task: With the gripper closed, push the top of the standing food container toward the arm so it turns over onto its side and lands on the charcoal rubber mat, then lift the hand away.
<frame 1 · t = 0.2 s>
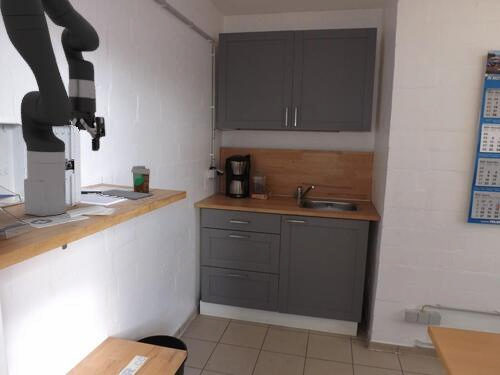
hand: (84, 149, 112), 17 cm above the table, tool pointing down, fingers open, 8 cm apart
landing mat: (123, 194, 135), on the table
food container: (138, 192, 144), on the table
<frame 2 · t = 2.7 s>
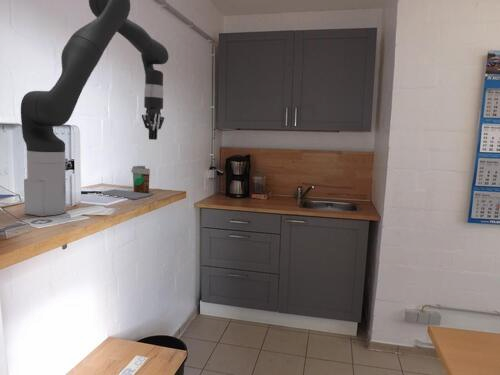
hand: (152, 139, 149), 21 cm above the table, tool pointing down, fingers closed
nothing on the table moved.
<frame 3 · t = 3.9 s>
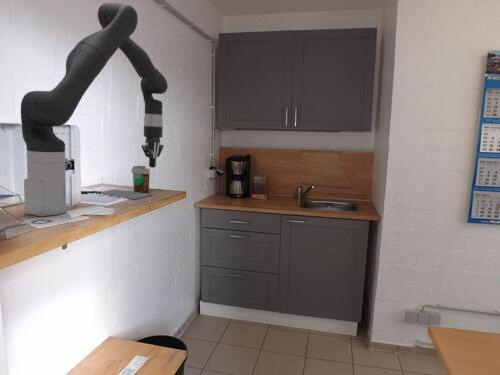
hand: (152, 167, 151), 9 cm above the table, tool pointing down, fingers closed
nothing on the table moved.
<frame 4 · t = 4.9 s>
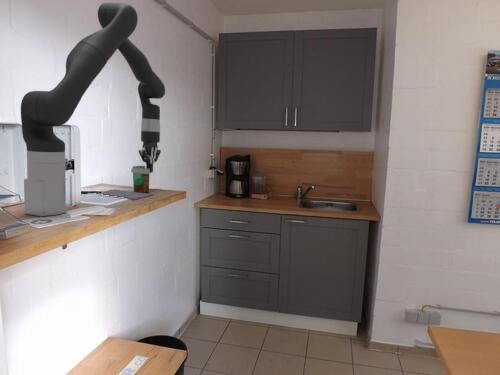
hand: (149, 172, 149), 7 cm above the table, tool pointing down, fingers closed
food container: (138, 192, 144), on the table, touching gripper
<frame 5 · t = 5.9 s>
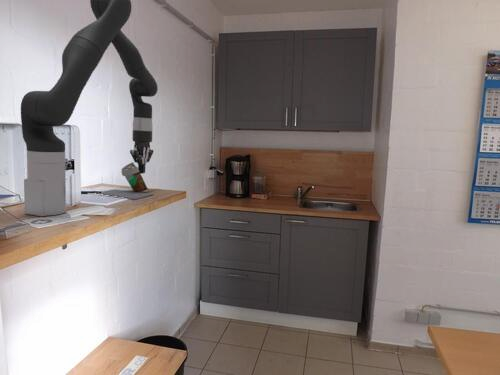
hand: (141, 173, 144), 7 cm above the table, tool pointing down, fingers closed
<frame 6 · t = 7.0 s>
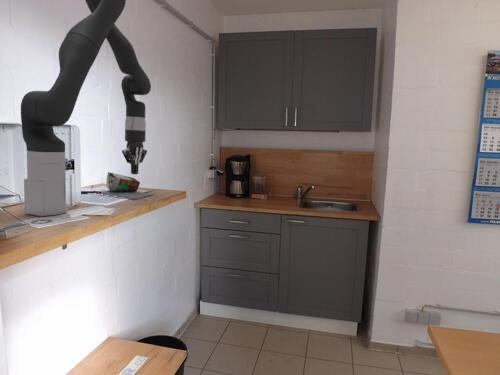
hand: (134, 174, 140), 7 cm above the table, tool pointing down, fingers closed
food container: (135, 187, 143), point 2 cm above the table, touching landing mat
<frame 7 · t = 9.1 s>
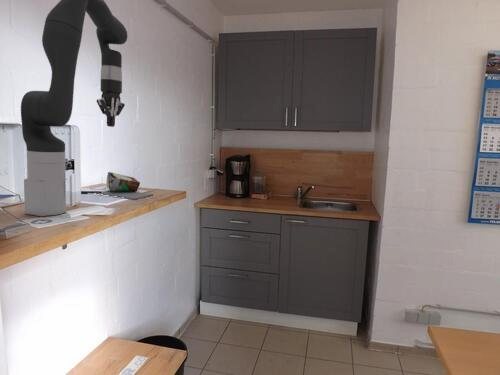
hand: (110, 126, 136), 25 cm above the table, tool pointing down, fingers closed
nothing on the table moved.
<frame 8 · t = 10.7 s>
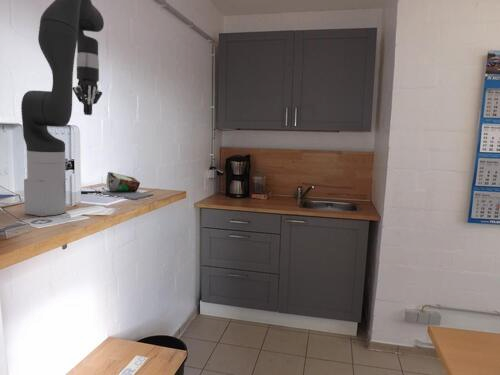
hand: (88, 114, 135), 29 cm above the table, tool pointing down, fingers closed
nothing on the table moved.
at the end: food container tilted 77°; food container inside the target area (2.7 cm from its centre), point 1.8 cm above the table; food container touching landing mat, table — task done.
